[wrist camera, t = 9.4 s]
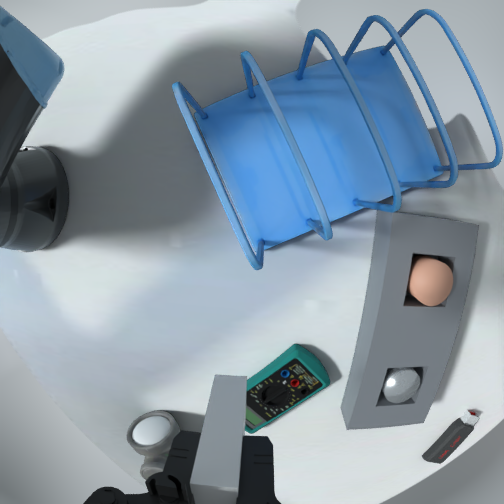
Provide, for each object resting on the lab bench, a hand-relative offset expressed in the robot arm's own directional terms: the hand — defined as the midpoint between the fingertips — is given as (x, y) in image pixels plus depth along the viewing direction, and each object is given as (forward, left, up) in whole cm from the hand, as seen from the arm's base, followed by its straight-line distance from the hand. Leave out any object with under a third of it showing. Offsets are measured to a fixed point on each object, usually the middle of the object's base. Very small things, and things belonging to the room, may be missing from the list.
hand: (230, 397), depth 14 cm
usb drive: (+46, +11, -24) cm, 53 cm away
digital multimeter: (+15, -8, -24) cm, 29 cm away
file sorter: (-8, +16, -24) cm, 30 cm away
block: (+17, +12, -23) cm, 31 cm away
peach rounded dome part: (+11, +16, -21) cm, 29 cm away
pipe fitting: (+15, -27, -24) cm, 39 cm away
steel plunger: (+22, +7, -22) cm, 32 cm away
